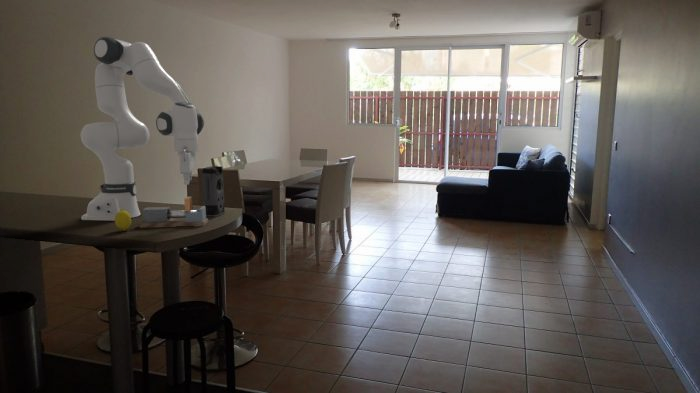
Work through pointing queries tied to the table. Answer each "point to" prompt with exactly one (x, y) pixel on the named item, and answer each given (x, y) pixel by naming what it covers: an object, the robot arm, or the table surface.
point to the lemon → (123, 220)
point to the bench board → (173, 223)
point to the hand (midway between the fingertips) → (188, 182)
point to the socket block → (196, 215)
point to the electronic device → (213, 190)
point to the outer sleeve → (155, 214)
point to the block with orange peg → (182, 212)
